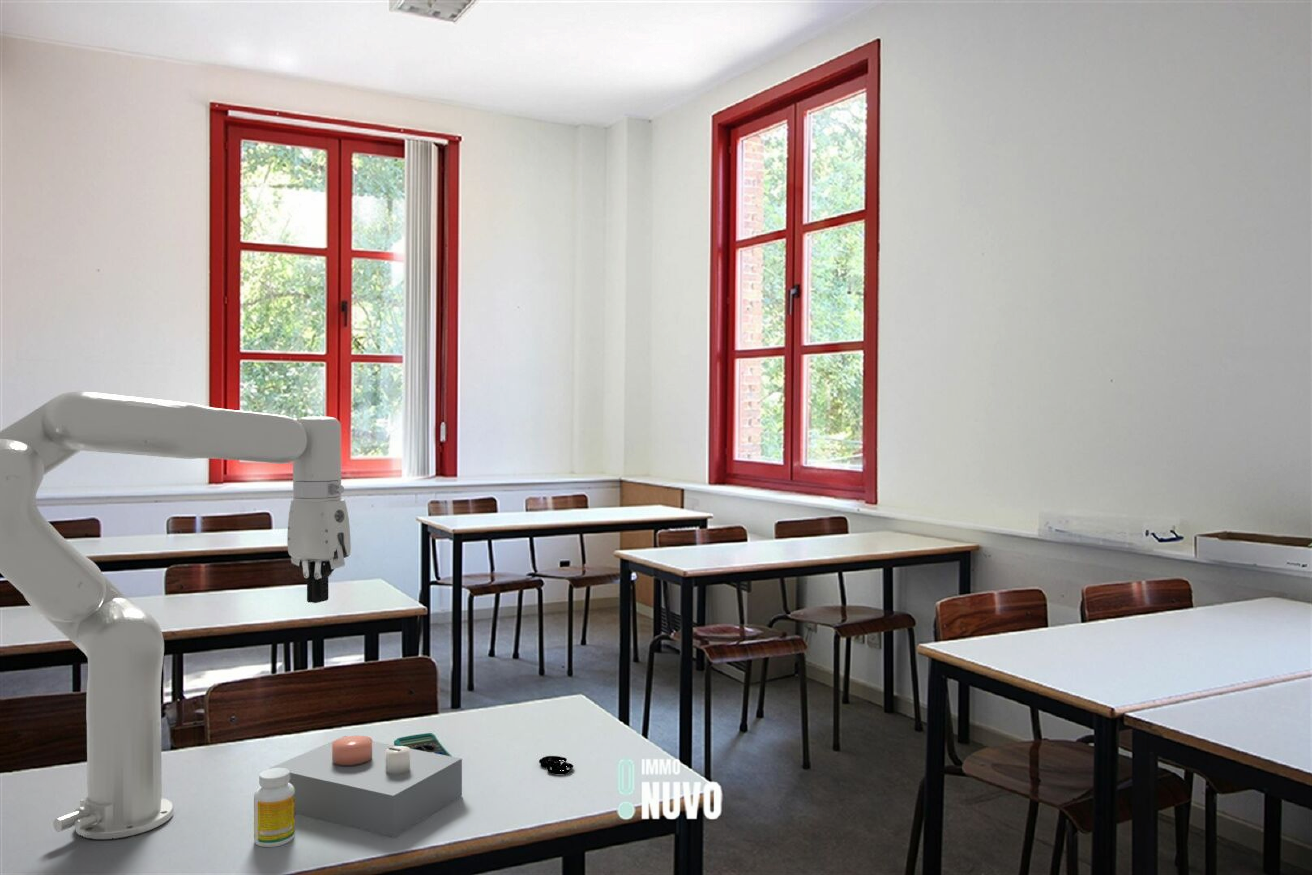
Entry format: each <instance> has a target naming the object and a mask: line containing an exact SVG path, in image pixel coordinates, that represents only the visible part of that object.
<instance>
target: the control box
mask: <svg viewBox="0 0 1312 875" xmlns="http://www.w3.org/2000/svg"><path fill="white" fill-rule="evenodd" d="M348 736H349V735H347V736H346V735H344V736H342V737H339V738H338V739H340V738H343V737H348ZM335 740H336V739H334V740H332V741H330V742H328V743H325V744H323V745H321V746H318V747H316V748H314V749H311V750H309V751H307V752H306V751H305V753H301V754H300V755H297V756H295V757H293V758H289V759H287V760H286V761H284V762H281V763H279V764H277V765H273V766H271V767H269V769H272V768H286V769H289V771H290V780H289V782H288V783H290V784H292V785H293V787H294V789H295V814H297V815H301V816H305V817H310V818H313V819H317V820H322V821H325V822H331V823H334V824H337V825H343V826H346V827H349V828H354V829H359V830H363V831H366V832H370V833H374V834H379V835H383V836H386V837H392V838H395V837H397V836H399V835H401V833H403V832H405V831H406V830H408V829H410V828H412V827H413V826H415V825H416V824H418V823H420V822H422V821H423V820H425V819H427V818H429V817H430V816H432V815H433V814H435V813H437V812H439V811H440V810H442V809H443V808H445V807H446V806H449V805H450V804H452V803H453V802H456V801H457V800H458V799H459V798H461V797H462V796H463V759H462V758H460V757H456V756H452V755H451V756H452V757H451V756H446V755H441V754H436V753H430V752H425V751H420V750H415V749H410V770H409V771H407V772H405V773H401V774H389V773H387V772H386V750H387V749H388V748H389V747H395V745H394V744H390V743H389V744H388V743H383V742H378V741H374V740H372V758H371V759H370V760H368V761H366V762H364V763H360V764H355V765H339V764H335V763H334V762H333V761H332V743H333V742H334V741H335Z"/></svg>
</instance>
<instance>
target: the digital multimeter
mask: <svg viewBox="0 0 1312 875" xmlns="http://www.w3.org/2000/svg"><path fill="white" fill-rule="evenodd" d="M393 745H395V746H406V747H409V748H410V749H415V750H420V751H425V752H430V753H436V754H441V755H446V756H451V757H453V756H452V755H451V754H450V753H449V752H448V751H447V749H446V748H445V747H444V746H443V745H442V744H441V742H440V741H439V740H438V738H437V736H436V734H433V733H432V732H428V733H419V734H413V735H407V736H402V737H398V738H397V739H395V740H394V741H393Z"/></svg>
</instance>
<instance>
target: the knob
mask: <svg viewBox="0 0 1312 875" xmlns="http://www.w3.org/2000/svg"><path fill="white" fill-rule="evenodd" d="M409 770H410V748H409V747H406V746H395V747H389V748H388V749H387V750H386V772H387V773H389V774H401V773H405V772H407V771H409Z"/></svg>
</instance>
